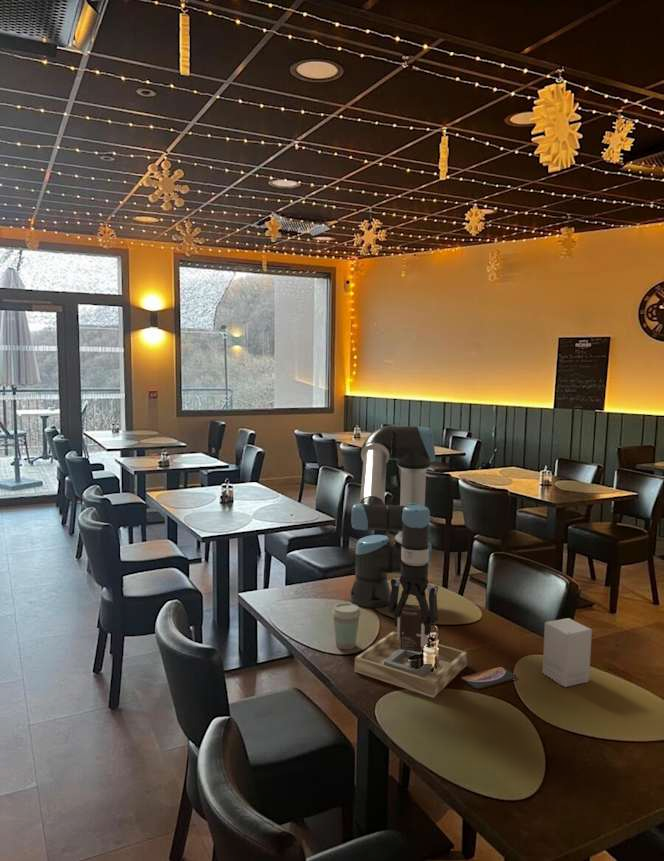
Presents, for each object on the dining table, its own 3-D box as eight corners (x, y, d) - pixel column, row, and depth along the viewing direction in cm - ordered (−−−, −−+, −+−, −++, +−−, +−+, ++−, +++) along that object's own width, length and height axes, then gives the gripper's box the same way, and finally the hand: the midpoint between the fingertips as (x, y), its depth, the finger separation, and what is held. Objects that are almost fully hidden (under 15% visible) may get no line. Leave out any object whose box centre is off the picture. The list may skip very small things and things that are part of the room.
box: (399, 650, 178) (400, 608, 177) (403, 643, 182) (404, 603, 181) (421, 653, 176) (422, 611, 175) (424, 646, 181) (425, 605, 179)
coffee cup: (360, 640, 198) (361, 602, 197) (358, 652, 189) (359, 613, 188) (333, 638, 199) (333, 601, 197) (330, 650, 190) (330, 612, 189)
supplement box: (590, 682, 174) (593, 629, 172) (564, 688, 170) (567, 634, 169) (566, 667, 182) (569, 617, 181) (541, 672, 179) (543, 621, 177)
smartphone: (458, 677, 175) (500, 665, 182) (458, 680, 175) (500, 668, 182) (476, 688, 168) (519, 676, 175) (476, 692, 168) (519, 679, 175)
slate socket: (402, 653, 188) (402, 647, 188) (438, 664, 181) (438, 657, 181) (383, 668, 178) (383, 661, 178) (420, 680, 172) (420, 673, 172)
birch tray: (392, 643, 196) (392, 631, 195) (466, 665, 182) (467, 652, 182) (354, 671, 178) (354, 657, 177) (433, 697, 164) (434, 683, 164)
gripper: (377, 558, 179) (375, 637, 182) (441, 572, 168) (438, 655, 171) (390, 552, 185) (387, 628, 188) (453, 565, 174) (450, 645, 177)
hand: (412, 641), depth 179 cm, fingers closed on box, 7 cm apart
